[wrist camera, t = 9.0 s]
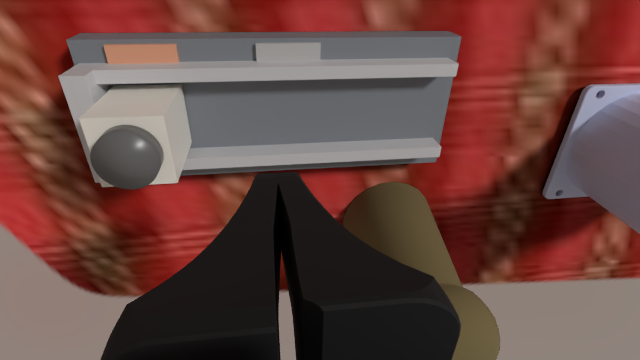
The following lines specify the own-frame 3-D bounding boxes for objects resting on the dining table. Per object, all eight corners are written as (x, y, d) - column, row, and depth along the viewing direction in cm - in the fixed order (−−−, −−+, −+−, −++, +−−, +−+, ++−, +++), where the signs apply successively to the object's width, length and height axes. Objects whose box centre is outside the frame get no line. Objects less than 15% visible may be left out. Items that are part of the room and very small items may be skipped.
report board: (448, 31, 20) (482, 45, 17) (426, 150, 23) (450, 179, 20) (80, 32, 17) (43, 50, 14) (119, 165, 21) (96, 200, 18)
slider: (181, 84, 18) (158, 124, 14) (191, 142, 19) (174, 193, 15) (113, 85, 17) (69, 127, 13) (129, 144, 19) (94, 198, 15)
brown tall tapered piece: (349, 261, 27) (396, 421, 18) (335, 194, 24) (383, 347, 15) (429, 241, 27) (517, 390, 18) (426, 172, 24) (531, 310, 15)
